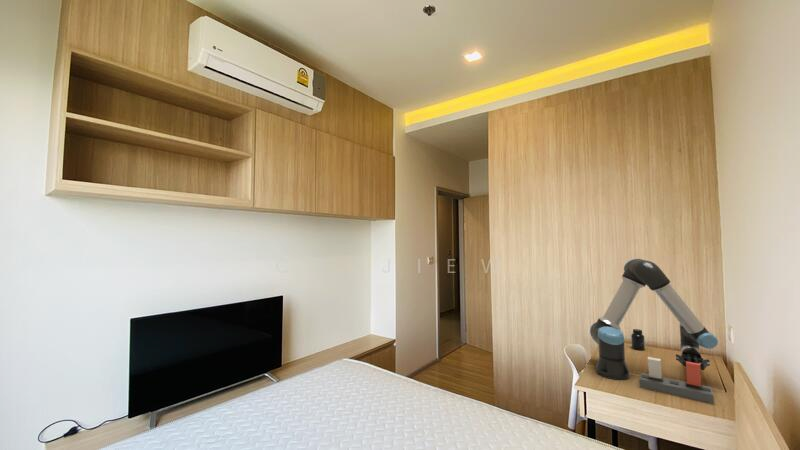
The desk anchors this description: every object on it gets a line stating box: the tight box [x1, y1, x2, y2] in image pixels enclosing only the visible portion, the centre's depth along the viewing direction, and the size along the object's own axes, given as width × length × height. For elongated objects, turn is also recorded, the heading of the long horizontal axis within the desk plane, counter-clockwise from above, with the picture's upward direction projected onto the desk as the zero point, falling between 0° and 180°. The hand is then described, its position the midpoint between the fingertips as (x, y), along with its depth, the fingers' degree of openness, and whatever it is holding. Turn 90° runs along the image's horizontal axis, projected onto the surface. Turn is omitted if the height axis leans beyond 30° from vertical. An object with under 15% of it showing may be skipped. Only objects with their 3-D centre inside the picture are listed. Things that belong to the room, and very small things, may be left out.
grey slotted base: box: [639, 372, 715, 405], centre depth 154 cm, size 26×9×4 cm, turn 50°
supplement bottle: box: [630, 328, 646, 351], centre depth 208 cm, size 7×7×12 cm
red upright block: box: [685, 362, 702, 387], centre depth 149 cm, size 5×2×10 cm, turn 50°
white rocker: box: [647, 356, 663, 379], centre depth 157 cm, size 5×2×10 cm, turn 50°
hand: (694, 371), depth 149 cm, fingers closed
